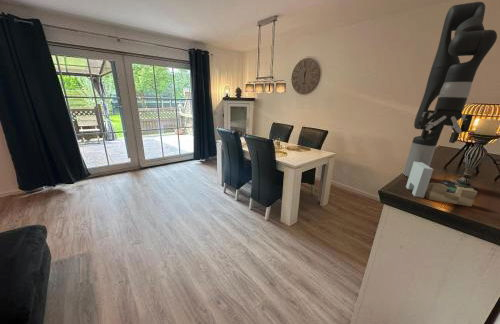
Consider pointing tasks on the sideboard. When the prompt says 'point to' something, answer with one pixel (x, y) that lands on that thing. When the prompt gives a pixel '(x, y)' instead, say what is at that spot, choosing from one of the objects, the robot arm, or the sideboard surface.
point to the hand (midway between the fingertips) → (437, 141)
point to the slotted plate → (419, 179)
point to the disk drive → (451, 186)
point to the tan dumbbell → (451, 194)
